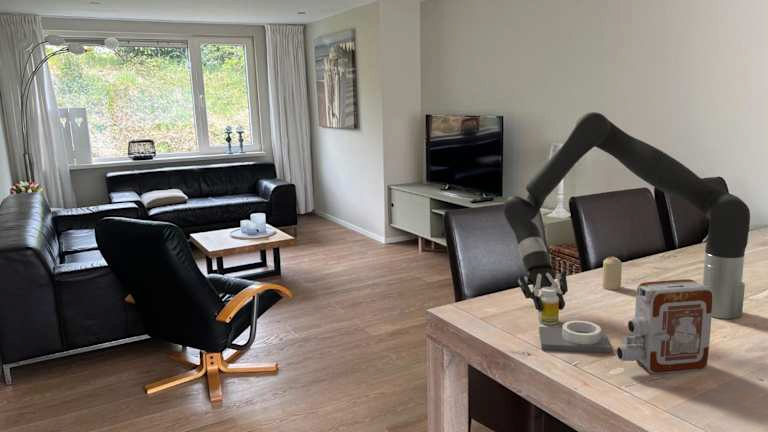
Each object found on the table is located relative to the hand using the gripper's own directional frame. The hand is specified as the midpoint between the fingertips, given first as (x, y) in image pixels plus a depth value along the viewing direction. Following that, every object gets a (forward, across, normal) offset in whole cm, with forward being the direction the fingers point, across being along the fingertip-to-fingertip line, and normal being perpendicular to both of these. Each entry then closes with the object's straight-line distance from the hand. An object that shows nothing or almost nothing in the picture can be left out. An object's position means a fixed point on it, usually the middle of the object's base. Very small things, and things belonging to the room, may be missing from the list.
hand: (551, 309), depth 154 cm
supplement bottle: (+2, 0, +4) cm, 5 cm away
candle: (-13, +31, +20) cm, 39 cm away
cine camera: (+24, +12, -17) cm, 32 cm away
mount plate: (+12, 0, -6) cm, 13 cm away
